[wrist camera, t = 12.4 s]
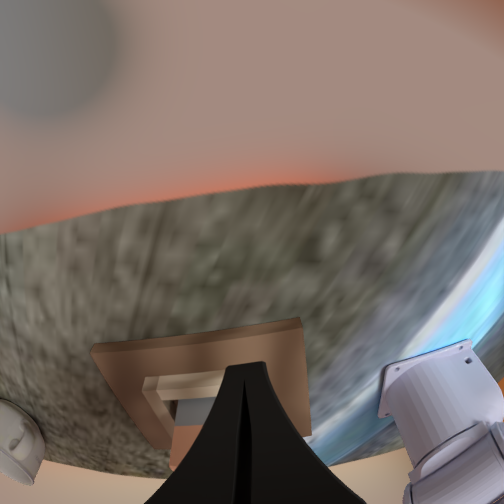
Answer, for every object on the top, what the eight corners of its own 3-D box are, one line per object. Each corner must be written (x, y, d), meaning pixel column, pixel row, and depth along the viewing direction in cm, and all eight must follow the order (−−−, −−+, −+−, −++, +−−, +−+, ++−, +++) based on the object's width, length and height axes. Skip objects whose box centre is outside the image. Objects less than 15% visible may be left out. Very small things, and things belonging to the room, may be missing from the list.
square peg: (229, 386, 23) (228, 464, 17) (239, 415, 25) (241, 486, 18) (179, 391, 23) (168, 466, 17) (194, 419, 25) (188, 488, 18)
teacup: (22, 438, 31) (5, 479, 23) (-28, 386, 26) (-53, 428, 19) (84, 441, 29) (67, 494, 22) (24, 380, 25) (-6, 435, 18)
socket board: (299, 317, 22) (306, 342, 20) (309, 426, 28) (314, 447, 25) (94, 343, 22) (83, 366, 20) (155, 440, 28) (152, 460, 26)
